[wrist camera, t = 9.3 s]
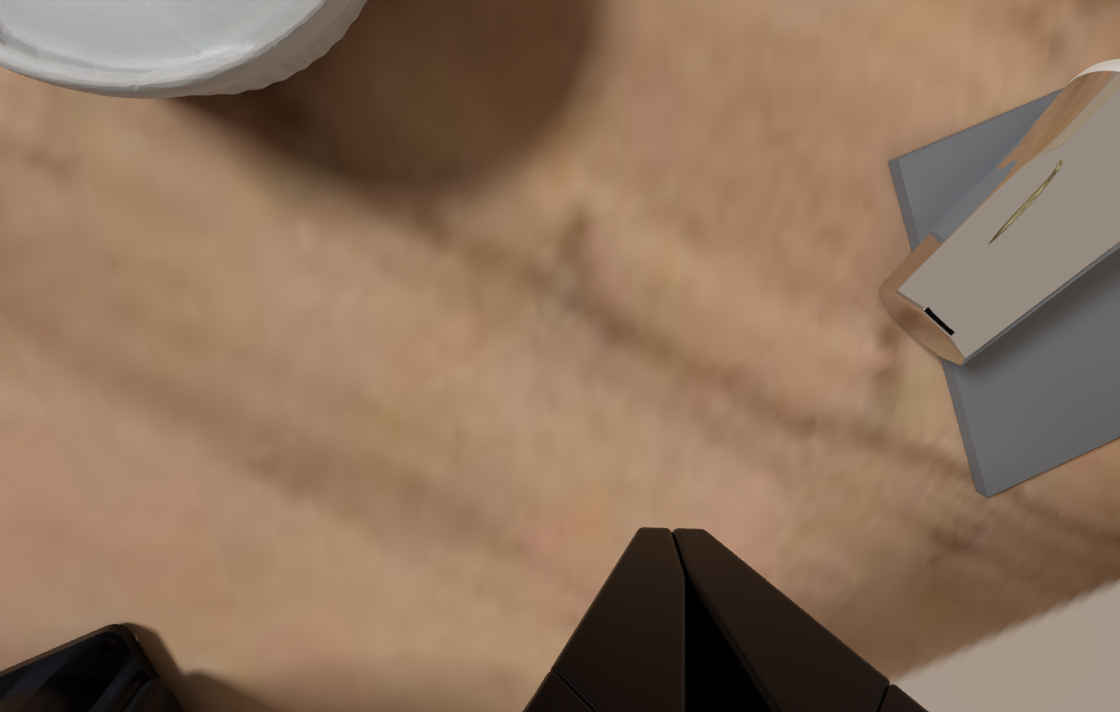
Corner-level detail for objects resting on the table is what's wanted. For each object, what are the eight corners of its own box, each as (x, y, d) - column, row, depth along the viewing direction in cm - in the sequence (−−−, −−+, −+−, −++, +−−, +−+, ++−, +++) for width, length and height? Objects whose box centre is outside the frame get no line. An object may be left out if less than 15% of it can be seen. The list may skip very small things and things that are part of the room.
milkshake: (1018, 421, 20) (1321, 166, 18) (941, 307, 17) (1281, 3, 16) (912, 355, 24) (1151, 142, 22) (837, 256, 21) (1100, 9, 20)
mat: (976, 491, 24) (987, 497, 23) (888, 161, 21) (898, 159, 20) (1244, 369, 24) (1260, 372, 24) (1191, 34, 22) (1208, 29, 21)
